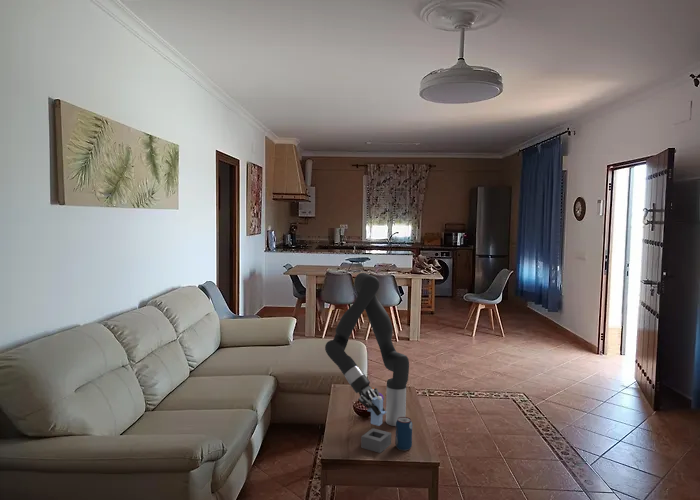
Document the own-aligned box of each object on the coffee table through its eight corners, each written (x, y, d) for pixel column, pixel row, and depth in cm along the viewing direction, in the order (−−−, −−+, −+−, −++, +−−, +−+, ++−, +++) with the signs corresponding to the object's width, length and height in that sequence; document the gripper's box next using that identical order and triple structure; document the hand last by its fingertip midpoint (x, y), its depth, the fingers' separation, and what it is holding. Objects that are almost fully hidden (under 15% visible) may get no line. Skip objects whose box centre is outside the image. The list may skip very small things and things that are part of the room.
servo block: (366, 422, 206) (367, 395, 206) (370, 420, 209) (371, 393, 208) (383, 426, 202) (383, 399, 202) (386, 424, 205) (387, 397, 205)
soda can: (415, 447, 205) (415, 419, 205) (404, 452, 200) (405, 424, 200) (402, 442, 210) (403, 414, 210) (391, 447, 205) (392, 419, 205)
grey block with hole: (372, 439, 213) (372, 428, 213) (391, 444, 208) (391, 433, 208) (361, 447, 204) (361, 436, 204) (380, 453, 200) (380, 441, 199)
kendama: (378, 385, 273) (385, 395, 253) (376, 396, 273) (383, 406, 253) (368, 384, 273) (374, 393, 253) (366, 394, 272) (372, 404, 252)
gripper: (354, 378, 203) (379, 413, 197) (370, 370, 215) (394, 403, 209) (342, 388, 206) (367, 423, 200) (359, 380, 218) (383, 412, 212)
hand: (381, 413), depth 204 cm, fingers closed on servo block, 3 cm apart
